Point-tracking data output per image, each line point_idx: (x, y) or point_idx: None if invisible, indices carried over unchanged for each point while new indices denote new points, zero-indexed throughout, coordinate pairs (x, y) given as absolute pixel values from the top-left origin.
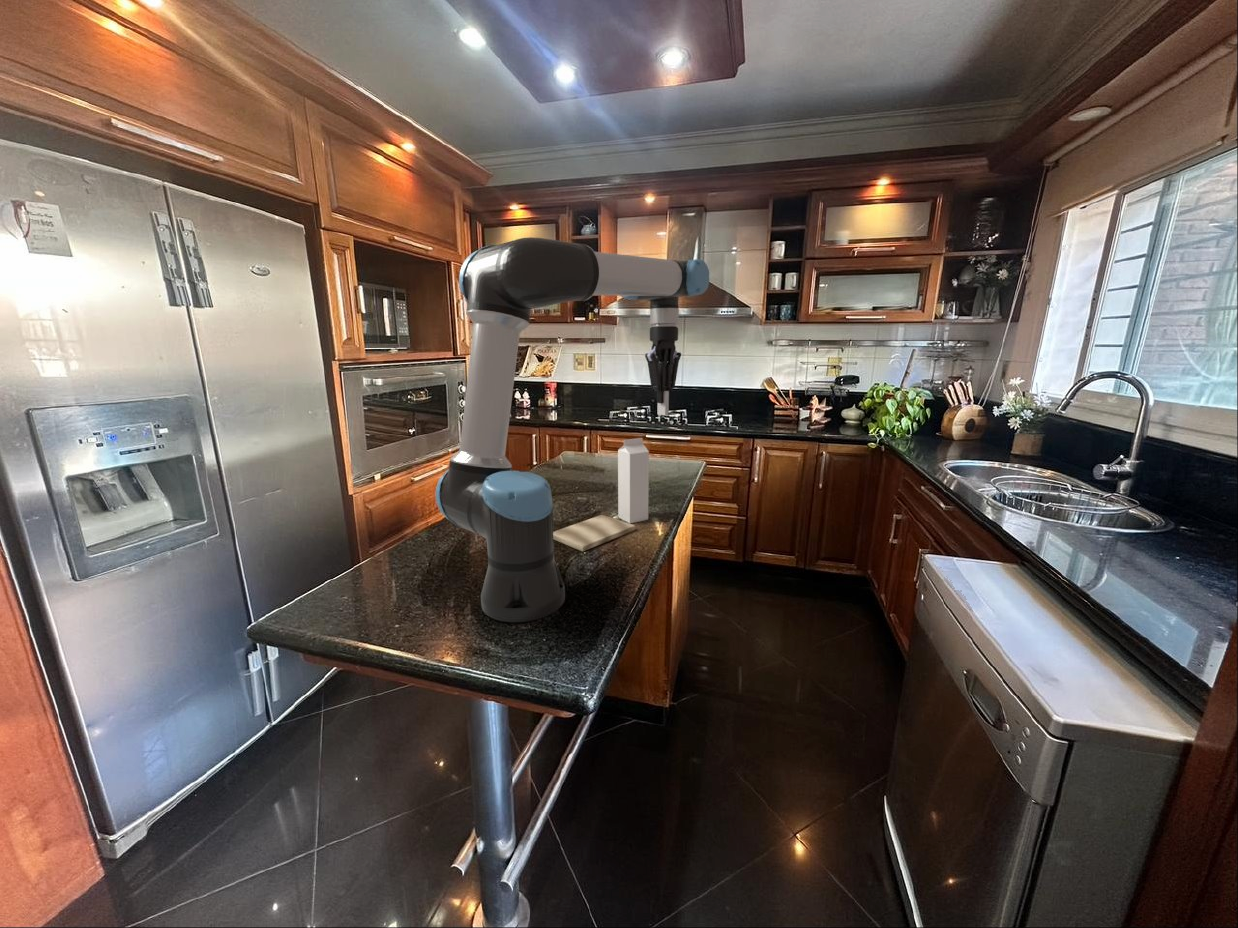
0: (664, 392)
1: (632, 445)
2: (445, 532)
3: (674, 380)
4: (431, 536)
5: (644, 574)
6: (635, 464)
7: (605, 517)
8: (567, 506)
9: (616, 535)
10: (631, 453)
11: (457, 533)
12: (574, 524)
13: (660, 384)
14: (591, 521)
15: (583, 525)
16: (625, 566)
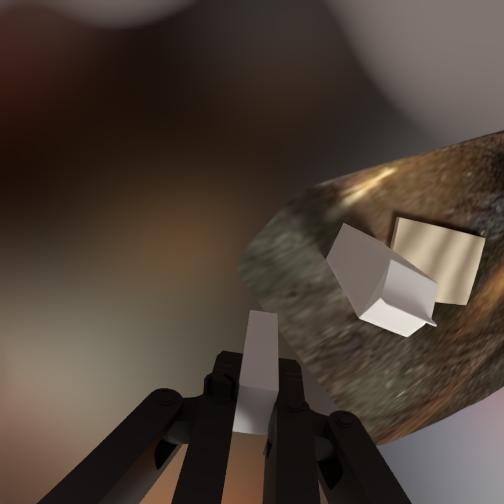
0: (275, 392)
1: (412, 306)
2: (471, 394)
3: (142, 423)
4: (480, 393)
5: (490, 136)
6: (413, 267)
7: None
8: (351, 369)
9: (434, 225)
10: (434, 283)
11: (471, 385)
12: None
13: (339, 435)
14: None
15: None
16: (488, 166)
